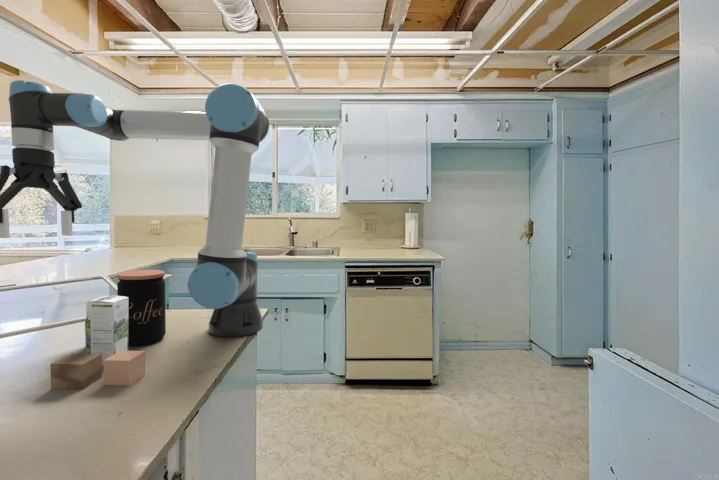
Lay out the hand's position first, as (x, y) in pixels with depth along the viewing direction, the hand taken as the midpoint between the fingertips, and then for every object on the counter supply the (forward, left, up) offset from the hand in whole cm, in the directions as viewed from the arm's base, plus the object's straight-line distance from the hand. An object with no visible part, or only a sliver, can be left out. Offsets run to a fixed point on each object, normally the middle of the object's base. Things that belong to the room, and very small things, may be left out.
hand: (37, 236), depth 86 cm
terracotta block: (-33, +18, -27) cm, 46 cm away
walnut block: (-25, +20, -27) cm, 42 cm away
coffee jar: (-23, -4, -27) cm, 36 cm away
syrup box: (-24, +10, -27) cm, 38 cm away
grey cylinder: (-15, +1, -27) cm, 31 cm away
